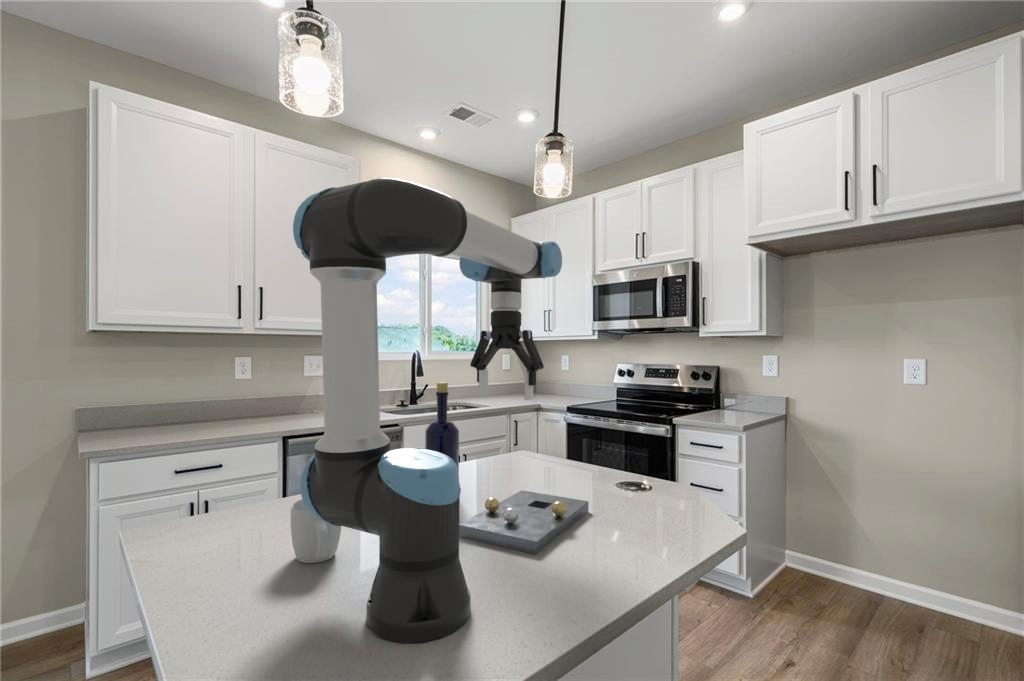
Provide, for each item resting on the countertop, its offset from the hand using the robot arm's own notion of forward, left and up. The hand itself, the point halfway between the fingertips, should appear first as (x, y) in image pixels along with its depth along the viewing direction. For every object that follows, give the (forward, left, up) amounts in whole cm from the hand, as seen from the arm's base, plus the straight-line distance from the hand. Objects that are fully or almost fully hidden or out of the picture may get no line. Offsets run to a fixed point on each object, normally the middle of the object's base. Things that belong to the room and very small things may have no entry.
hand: (505, 397), depth 122 cm
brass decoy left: (-10, -3, -23) cm, 25 cm away
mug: (-42, +15, -27) cm, 53 cm away
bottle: (-2, +17, -27) cm, 32 cm away
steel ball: (-14, -10, -23) cm, 29 cm away
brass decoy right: (-5, -17, -23) cm, 29 cm away
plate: (-6, -10, -27) cm, 29 cm away
